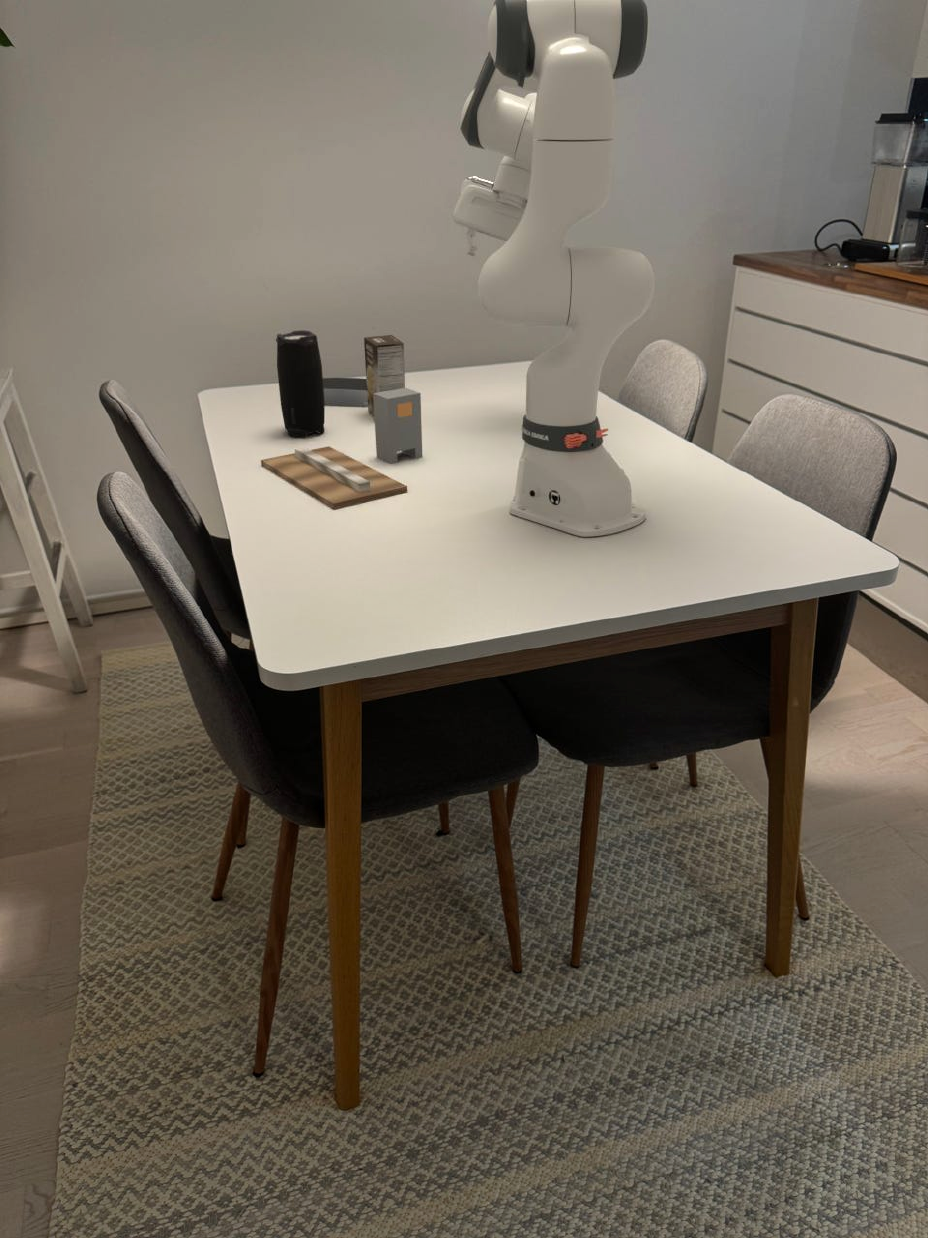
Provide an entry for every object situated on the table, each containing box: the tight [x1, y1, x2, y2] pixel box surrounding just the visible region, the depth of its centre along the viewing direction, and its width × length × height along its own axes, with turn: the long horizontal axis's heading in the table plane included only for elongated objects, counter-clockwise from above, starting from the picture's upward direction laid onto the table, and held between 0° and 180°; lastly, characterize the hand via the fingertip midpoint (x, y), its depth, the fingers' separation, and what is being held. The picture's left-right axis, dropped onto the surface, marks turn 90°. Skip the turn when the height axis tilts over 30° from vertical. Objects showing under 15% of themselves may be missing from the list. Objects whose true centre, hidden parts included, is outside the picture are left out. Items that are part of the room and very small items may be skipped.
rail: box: [260, 446, 408, 510], centre depth 162 cm, size 28×14×2 cm, turn 35°
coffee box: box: [363, 334, 406, 417], centre depth 194 cm, size 9×6×16 cm
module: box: [373, 387, 423, 465], centre depth 170 cm, size 5×7×12 cm
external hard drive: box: [323, 377, 368, 408], centre depth 210 cm, size 13×19×4 cm
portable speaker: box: [275, 329, 326, 439], centre depth 182 cm, size 9×9×20 cm
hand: (493, 262), depth 179 cm, fingers open, 8 cm apart
